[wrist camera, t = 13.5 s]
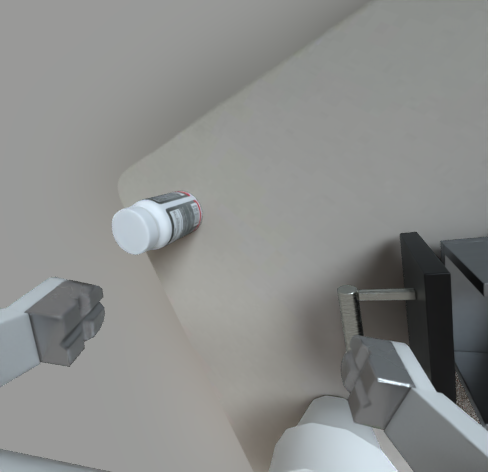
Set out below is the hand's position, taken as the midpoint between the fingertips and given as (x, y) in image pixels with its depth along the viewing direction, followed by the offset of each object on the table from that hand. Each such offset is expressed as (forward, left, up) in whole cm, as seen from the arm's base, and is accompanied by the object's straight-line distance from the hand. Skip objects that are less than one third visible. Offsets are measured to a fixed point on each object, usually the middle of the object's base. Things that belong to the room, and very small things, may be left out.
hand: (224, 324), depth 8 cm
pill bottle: (-2, -13, -18) cm, 22 cm away
